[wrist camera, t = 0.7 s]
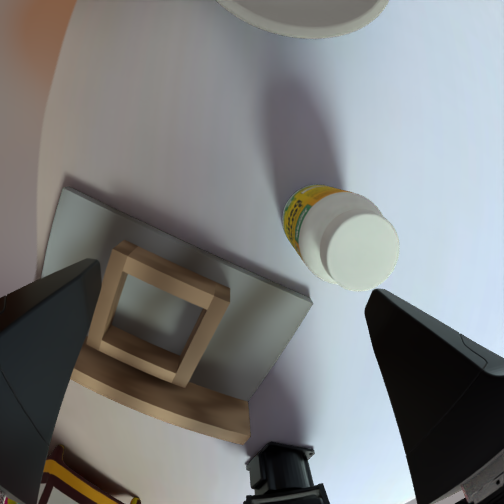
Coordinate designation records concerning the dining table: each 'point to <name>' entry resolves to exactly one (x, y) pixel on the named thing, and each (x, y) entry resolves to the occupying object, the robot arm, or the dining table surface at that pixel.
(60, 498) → the decorative lantern
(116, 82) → the dining table surface
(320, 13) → the dish
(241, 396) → the board
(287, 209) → the supplement bottle
